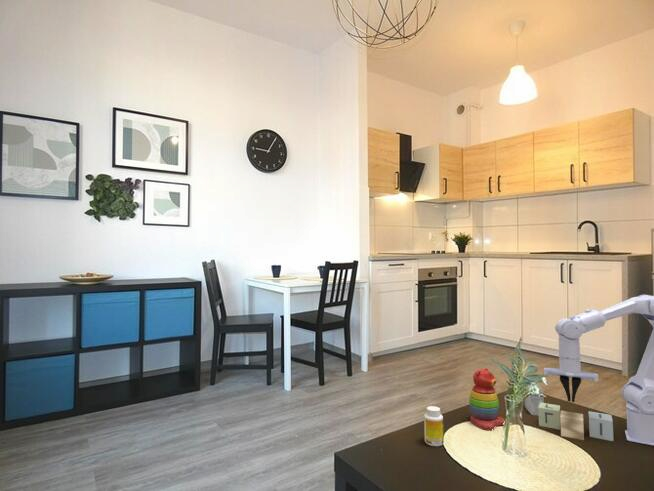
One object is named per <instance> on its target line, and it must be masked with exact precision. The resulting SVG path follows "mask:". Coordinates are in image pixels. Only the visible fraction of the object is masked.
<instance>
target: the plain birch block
mask: <svg viewBox="0 0 654 491" xmlns="http://www.w3.org/2000/svg"><path fill="white" fill-rule="evenodd" d="M560 420H561V425H560V436H561V437H565V438H571V439H575V440H580V441H585V428H584V426H585V425H584V414H583V413H578V412H573V411H572V412H571V411H565V410H560Z"/></svg>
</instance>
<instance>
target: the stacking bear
mask: <svg viewBox="0 0 654 491" xmlns="http://www.w3.org/2000/svg"><path fill="white" fill-rule="evenodd" d="M472 379H473V383H474V385H473V387H472V388H471V389H470V393H469V394H470V395H469V398H468V399H469V401H468V403H469V409H470V413H471V415H470V419H469V420H470V422H471V423H472V424H473V425H474V426H475V425H476V426H475V427H476V428H480V429H481V428H482V430H484V431H493V430H492V429H494V430H495V428H496V427H499V426H498V425H503V423H504V421H505V422H506V420H505V418H503V417H501V416H498V415H499V411H500V410H499V407H500V401H499V398H498V395H497V391H496V389H495V385H496V384H497V378H496V377H495V376H494V374H493V373H492V372H491V371H490V370H489V369H488V368H487V367H485V368H484V369H483V368H481V369H477V370H476V371H475V372H474V373H473V376H472ZM495 426H496V427H495ZM494 427H495V428H494Z"/></svg>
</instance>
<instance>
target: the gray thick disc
mask: <svg viewBox="0 0 654 491" xmlns="http://www.w3.org/2000/svg"><path fill="white" fill-rule="evenodd" d="M541 391H542V393H543V394H544V391H543V390H542V389H541ZM540 402H541V403H545V401H544V396H543V397H539V396H534V395H529V396H528V397H527V398H526V399H525V398H524V408H525V409H526V410H527V411H528V413H529V414H530V415H531V416H537V417H539V412H538V407H539V404H540Z"/></svg>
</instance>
